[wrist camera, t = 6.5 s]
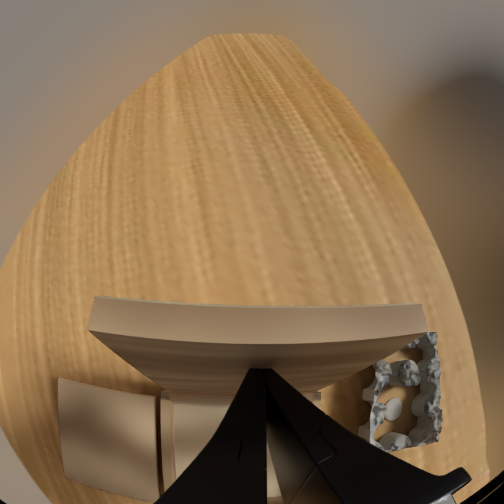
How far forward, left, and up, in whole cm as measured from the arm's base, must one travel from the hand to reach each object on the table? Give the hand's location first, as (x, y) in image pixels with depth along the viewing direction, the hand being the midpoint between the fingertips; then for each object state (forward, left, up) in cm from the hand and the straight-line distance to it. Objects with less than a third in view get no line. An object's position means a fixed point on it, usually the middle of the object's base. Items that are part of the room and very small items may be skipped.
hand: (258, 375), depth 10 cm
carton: (-8, 0, -11) cm, 14 cm away
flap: (-1, -1, -8) cm, 8 cm away
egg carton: (+5, -13, -12) cm, 18 cm away
